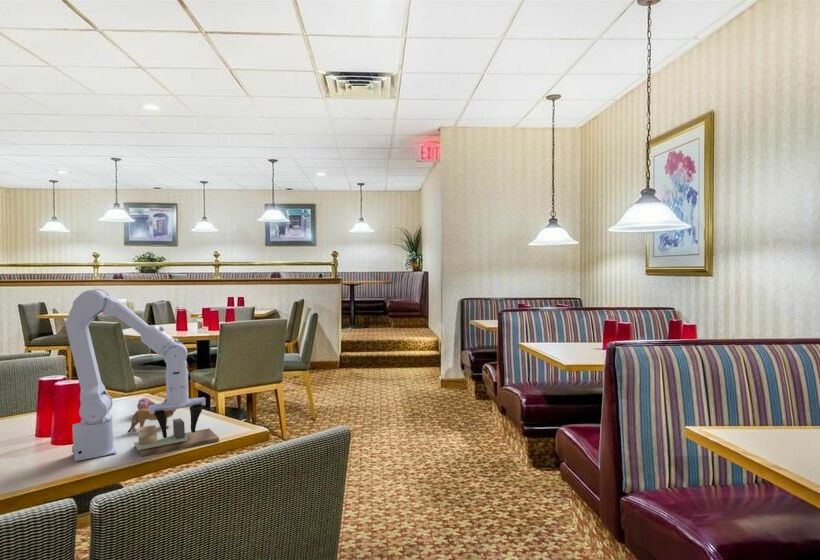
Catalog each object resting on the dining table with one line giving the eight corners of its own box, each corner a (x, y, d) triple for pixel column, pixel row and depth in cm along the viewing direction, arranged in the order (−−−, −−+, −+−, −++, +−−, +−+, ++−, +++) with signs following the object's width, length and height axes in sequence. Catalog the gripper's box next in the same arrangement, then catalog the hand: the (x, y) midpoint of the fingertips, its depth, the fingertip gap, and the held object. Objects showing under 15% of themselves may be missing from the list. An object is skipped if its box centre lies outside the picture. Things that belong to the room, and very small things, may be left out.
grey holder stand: (137, 450, 142) (136, 431, 142) (134, 443, 148) (133, 425, 147) (187, 440, 149) (186, 422, 149) (182, 434, 155) (181, 417, 155)
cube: (140, 445, 144) (140, 431, 144) (138, 441, 147) (138, 427, 147) (157, 442, 146) (156, 428, 146) (154, 438, 149) (154, 424, 149)
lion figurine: (175, 422, 172) (174, 394, 172) (180, 425, 168) (179, 397, 168) (124, 432, 162) (123, 403, 162) (129, 436, 158) (128, 406, 158)
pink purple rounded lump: (148, 415, 186) (137, 398, 185) (161, 408, 187) (150, 391, 186) (143, 423, 177) (132, 405, 176) (157, 416, 178) (146, 398, 177)
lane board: (141, 456, 141) (140, 453, 140) (135, 445, 150) (135, 442, 150) (219, 441, 152) (219, 437, 152) (209, 431, 161) (209, 428, 161)
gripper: (151, 393, 143) (153, 443, 144) (207, 385, 151) (209, 432, 152) (147, 388, 149) (149, 436, 149) (201, 380, 157) (203, 426, 158)
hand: (179, 434), depth 151 cm, fingers open, 7 cm apart
